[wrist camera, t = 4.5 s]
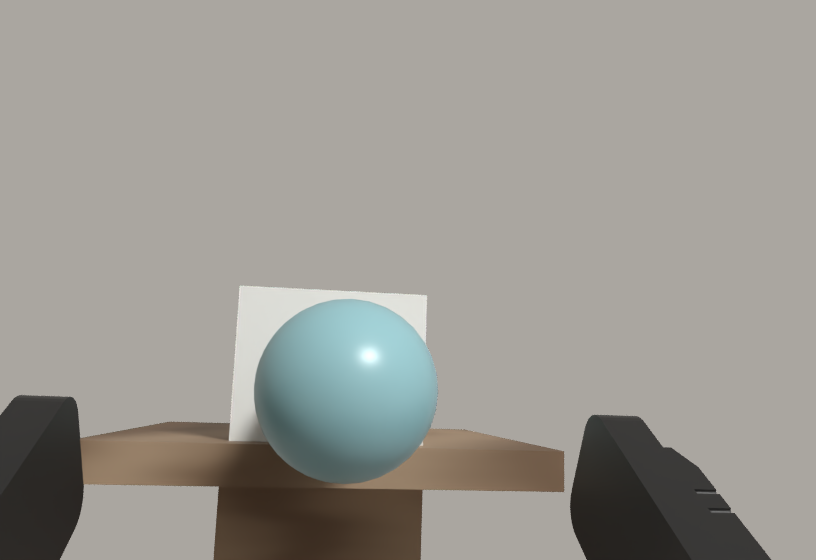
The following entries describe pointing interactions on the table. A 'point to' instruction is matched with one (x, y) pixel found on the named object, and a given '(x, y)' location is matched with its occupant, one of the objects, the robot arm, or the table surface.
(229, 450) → the stand
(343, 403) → the white block with ball
